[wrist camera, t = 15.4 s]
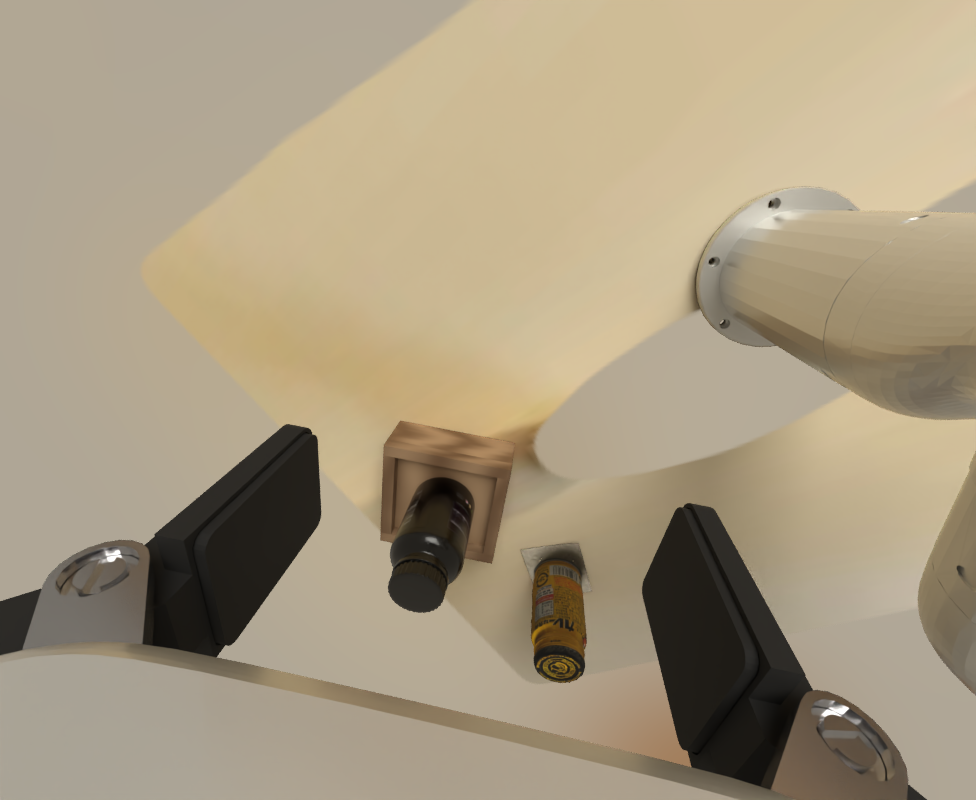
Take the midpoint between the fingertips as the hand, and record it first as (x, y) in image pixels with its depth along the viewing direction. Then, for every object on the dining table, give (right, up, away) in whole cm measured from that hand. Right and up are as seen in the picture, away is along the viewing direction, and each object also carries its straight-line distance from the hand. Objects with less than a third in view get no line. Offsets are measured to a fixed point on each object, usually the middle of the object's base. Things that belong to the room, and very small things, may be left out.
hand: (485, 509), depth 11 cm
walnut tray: (-4, -6, +38) cm, 38 cm away
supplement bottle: (-5, -8, +34) cm, 35 cm away
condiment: (+9, -19, +42) cm, 47 cm away
